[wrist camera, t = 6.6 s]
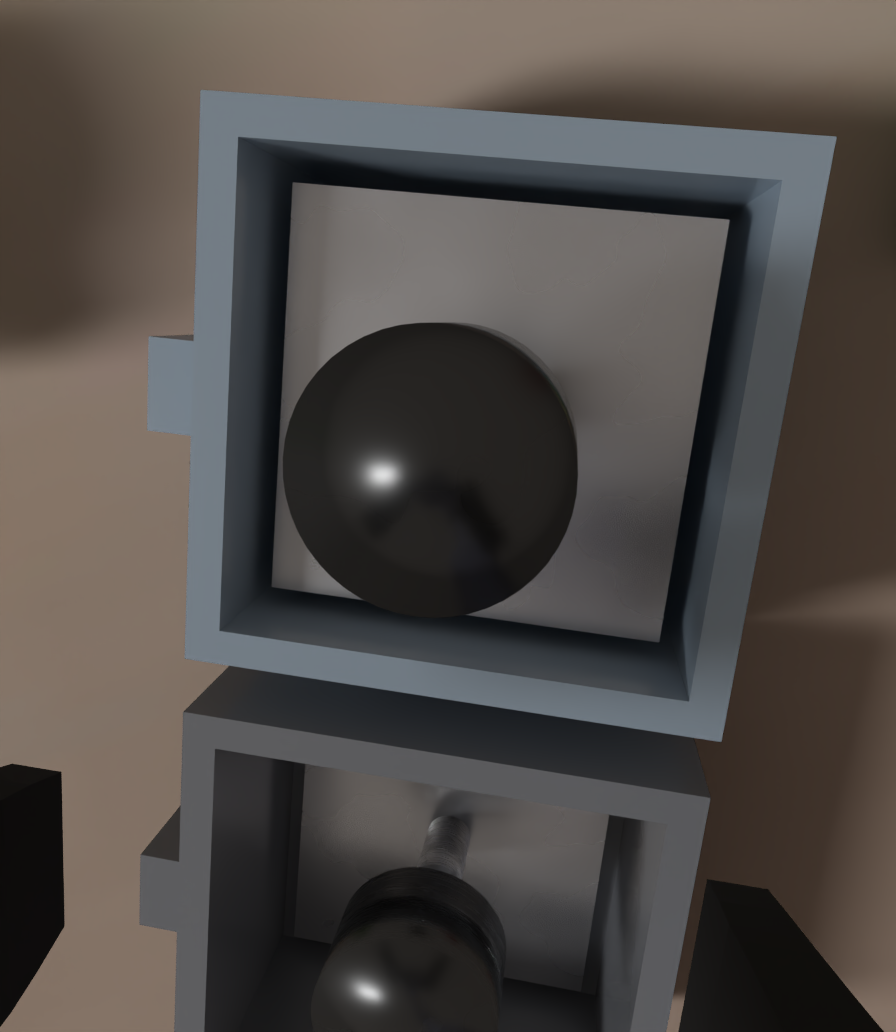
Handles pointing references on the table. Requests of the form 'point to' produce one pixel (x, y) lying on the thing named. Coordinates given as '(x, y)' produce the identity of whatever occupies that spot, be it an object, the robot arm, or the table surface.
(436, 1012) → the charcoal press plunger
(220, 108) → the slate-blue press
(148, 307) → the table surface
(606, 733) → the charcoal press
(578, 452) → the slate-blue press plunger
